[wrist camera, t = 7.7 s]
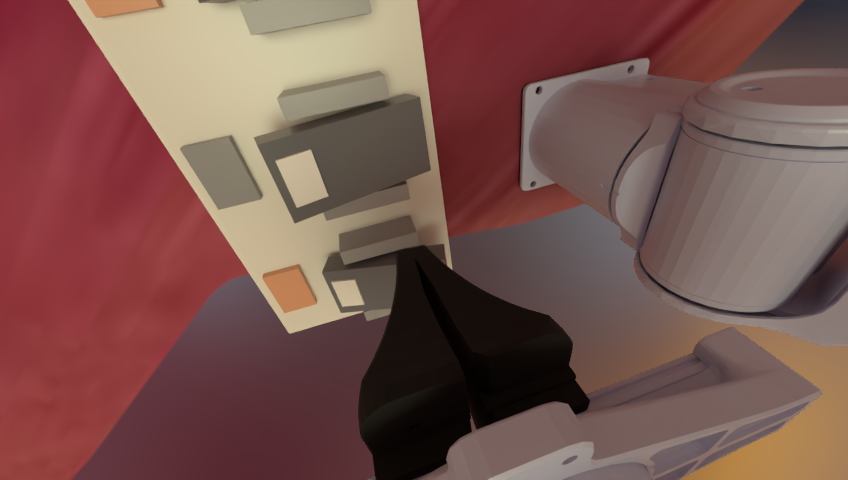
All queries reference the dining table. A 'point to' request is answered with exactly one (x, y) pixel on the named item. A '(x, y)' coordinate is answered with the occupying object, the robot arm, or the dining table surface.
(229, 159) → the switch panel
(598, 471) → the robot arm
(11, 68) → the dining table surface
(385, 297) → the block
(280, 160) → the rocker middle
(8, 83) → the dining table surface
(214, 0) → the rocker
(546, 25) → the dining table surface
